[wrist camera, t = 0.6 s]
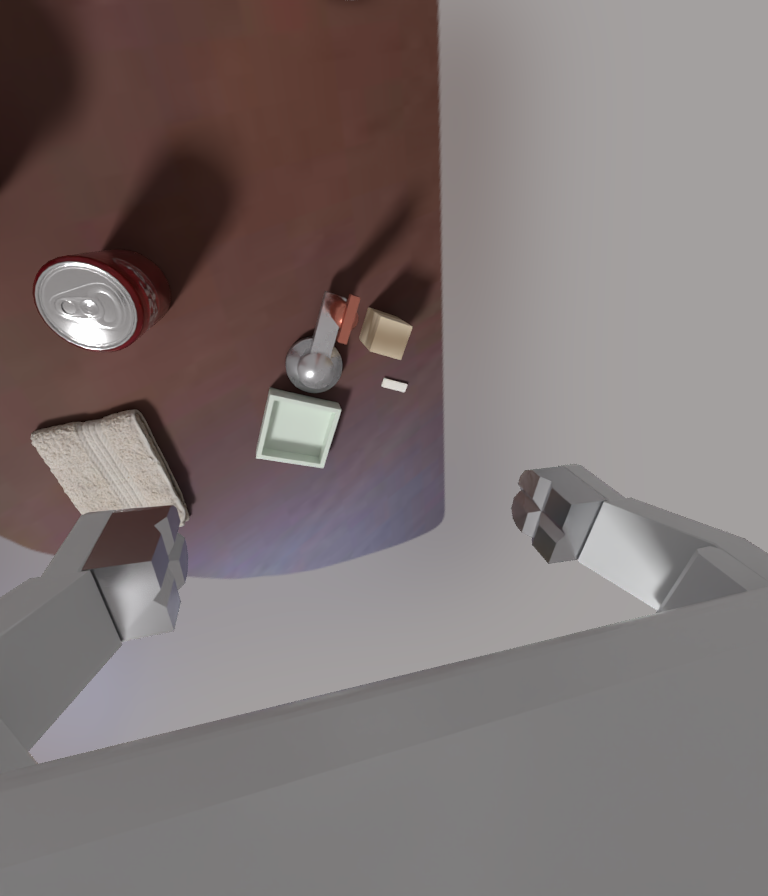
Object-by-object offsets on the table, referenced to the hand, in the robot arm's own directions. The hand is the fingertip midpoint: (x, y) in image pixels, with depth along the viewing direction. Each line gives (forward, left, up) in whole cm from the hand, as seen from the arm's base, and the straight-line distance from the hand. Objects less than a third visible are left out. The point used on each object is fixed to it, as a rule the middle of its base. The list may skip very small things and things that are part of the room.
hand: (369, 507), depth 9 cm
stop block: (+1, +12, -41) cm, 43 cm away
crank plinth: (+8, +5, -41) cm, 42 cm away
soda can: (+5, -15, -41) cm, 44 cm away
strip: (+8, +17, -41) cm, 45 cm away
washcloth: (+29, -15, -42) cm, 53 cm away
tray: (+17, +5, -41) cm, 44 cm away
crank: (+4, +5, -39) cm, 40 cm away
